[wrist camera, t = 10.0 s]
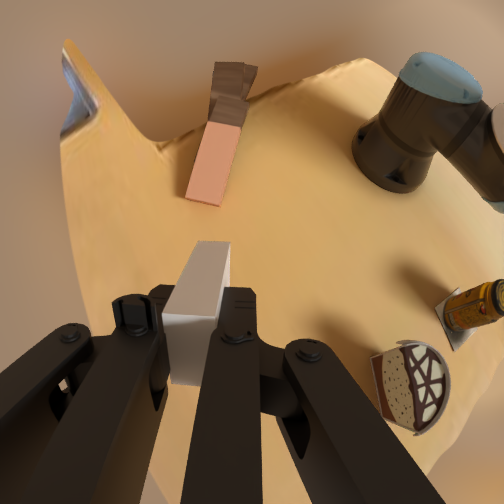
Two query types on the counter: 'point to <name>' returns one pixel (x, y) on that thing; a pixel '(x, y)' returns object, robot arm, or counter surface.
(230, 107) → the domino
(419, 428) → the food container
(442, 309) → the condiment
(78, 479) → the robot arm
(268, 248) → the counter surface
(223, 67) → the domino
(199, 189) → the domino
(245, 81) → the domino
